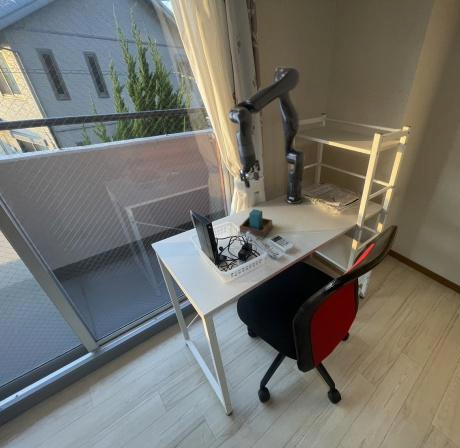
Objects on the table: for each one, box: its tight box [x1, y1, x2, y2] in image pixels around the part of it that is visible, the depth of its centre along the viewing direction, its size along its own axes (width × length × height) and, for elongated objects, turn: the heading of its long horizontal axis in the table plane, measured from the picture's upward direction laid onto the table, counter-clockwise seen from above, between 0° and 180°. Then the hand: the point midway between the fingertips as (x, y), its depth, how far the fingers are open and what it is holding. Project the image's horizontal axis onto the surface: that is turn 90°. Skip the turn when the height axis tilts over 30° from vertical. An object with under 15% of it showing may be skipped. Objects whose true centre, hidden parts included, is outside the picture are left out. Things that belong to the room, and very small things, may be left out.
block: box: [248, 208, 264, 230], centre depth 127 cm, size 5×5×10 cm
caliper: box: [245, 230, 276, 258], centre depth 115 cm, size 20×1×6 cm, turn 46°
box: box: [239, 216, 273, 239], centre depth 129 cm, size 12×13×4 cm
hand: (252, 183), depth 126 cm, fingers open, 8 cm apart
